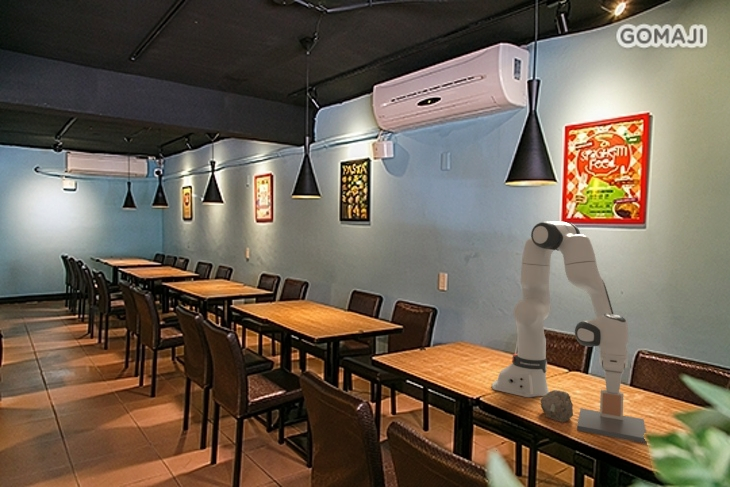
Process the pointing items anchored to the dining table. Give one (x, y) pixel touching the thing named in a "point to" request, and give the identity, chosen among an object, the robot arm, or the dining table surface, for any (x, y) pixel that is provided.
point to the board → (611, 426)
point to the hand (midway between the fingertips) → (612, 399)
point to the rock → (557, 405)
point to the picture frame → (611, 405)
